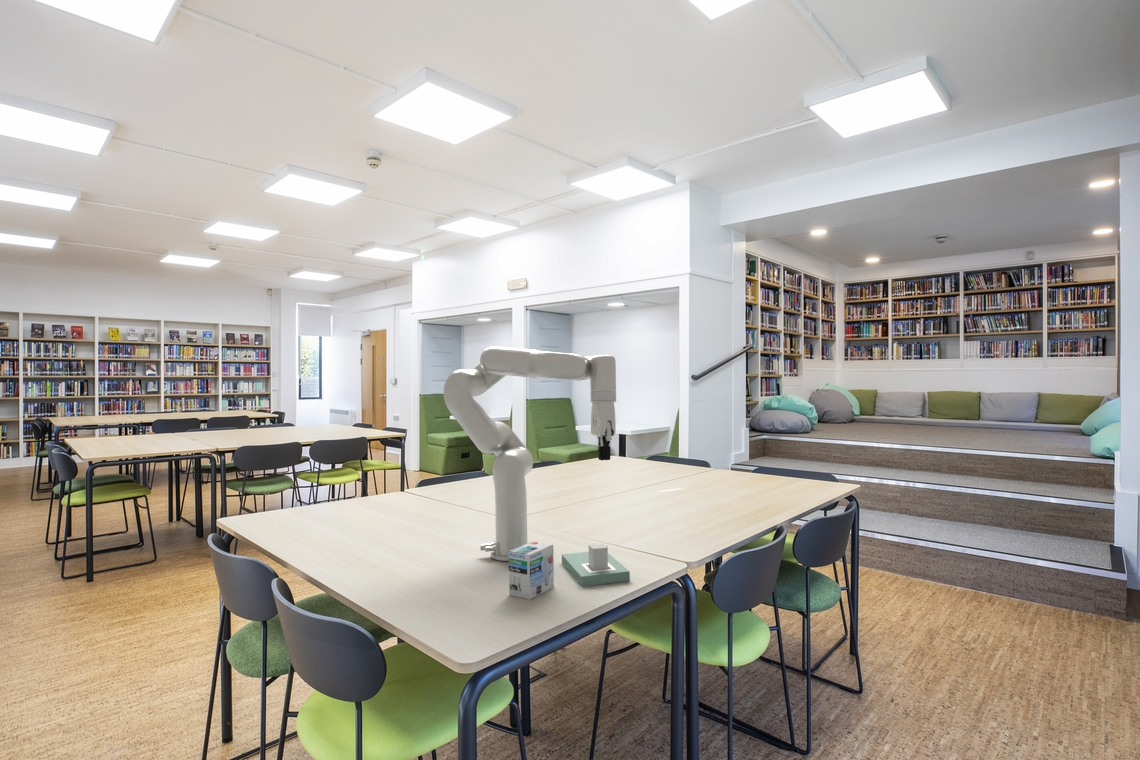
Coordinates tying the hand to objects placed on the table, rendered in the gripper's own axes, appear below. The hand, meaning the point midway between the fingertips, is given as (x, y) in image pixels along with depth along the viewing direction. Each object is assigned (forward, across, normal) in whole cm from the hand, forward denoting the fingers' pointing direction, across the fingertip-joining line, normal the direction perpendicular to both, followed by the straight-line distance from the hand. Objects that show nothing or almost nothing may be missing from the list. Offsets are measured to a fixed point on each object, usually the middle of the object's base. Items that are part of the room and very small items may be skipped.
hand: (604, 459), depth 164 cm
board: (+29, +10, -7) cm, 31 cm away
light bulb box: (+29, +19, -26) cm, 43 cm away
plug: (+29, +14, -7) cm, 33 cm away
